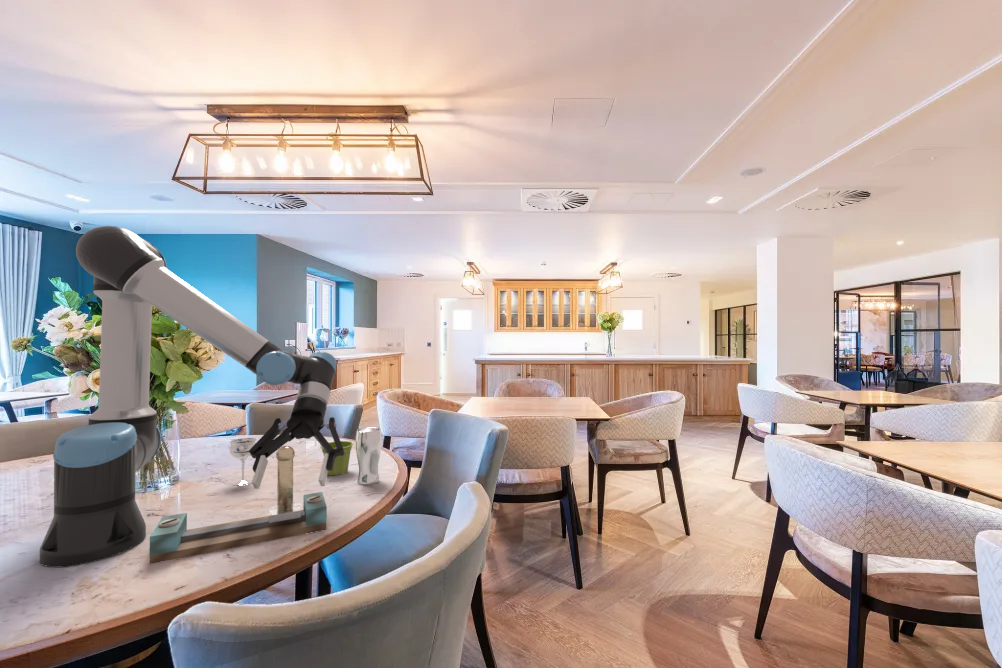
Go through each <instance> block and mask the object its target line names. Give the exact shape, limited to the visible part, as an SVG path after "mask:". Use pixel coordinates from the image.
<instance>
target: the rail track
mask: <svg viewBox="0 0 1002 668" xmlns="http://www.w3.org/2000/svg"><path fill="white" fill-rule="evenodd" d="M327 507H328V506H327V503H326V500H325V496H324V494H323V491H318V492H314V493H313V492H311V493H306V494H303V509H301V517H300V518H295V519H289V520H283V521H278V522H272V523H269V515H267V516H261V517H254V518H248V519H243V520H237V521H229V522H224V523H219V524H214V525H213V524H212V525H207V526H202V527H195V528H190V529H188V527H187V525H188V516H187V515H188V513H187V512H185V513H184V512H183V513H179V514H177V513H176V514H170V515H165V516H162V517H161V519H160V520H159V522H158V523H157V525H156V526H155V528H154V529H153V531H152V533H150V536H149V559H148V560H149V565H154V564H157V563H158V564H159V563H163V562H169V561H173V560H179V559H184V558H189V557H195V556H199V555H204V554H209V553H215V552H219V551H220V552H221V551H224V550H230V549H234V548H235V549H236V548H241V547H246V546H251V545H256V544H261V543H266V542H267V543H268V542H271V541H276V540H281V539H287V538H292V537H297V536H301V535H302V534H303V535H307V534H306V533H308V534H312V533H311V532H313V533H317V532H316V531H318V532H323V531H326V530H327V529H328V528H327V525H328V524H327V522H328V521H327ZM322 530H323V531H322Z"/></svg>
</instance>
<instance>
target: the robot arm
mask: <svg viewBox="0 0 1002 668" xmlns="http://www.w3.org/2000/svg"><path fill="white" fill-rule="evenodd" d="M75 256H76V258H77V261H78V262H79V264H80V266H81V268H83V270H85V271H86V272H87V273H88V274H90V275H91V276H93V288H92V289H93V290H92V291H93V294H94V295H95V296H97V297H98V298H99V299H100V300H101V301H102V302H101V303H102V304H101V305H102V307H101V329H100V330H101V335H100V360H99V382H98V383H99V385H98V387H99V388H98V408H97V409H96V410H95V411H93V413H92V414H90V415H89V416H88V425H84V426H82V427H81V426H80V427H75V428H73V429H69V430H67V431H65V432H64V433H62V434H60V436H59V437H58V438H57V439H56V441H55V445H54V450H53V455H52V458H53V460H54V461H53V469H54V470H53V482H54V483H53V516H52V517H53V518H52V520H51V522H50V525H49V527H48V529H47V531H46V534H45V536H44V538H43V541H42V543H41V546H40V548H39V563H40V564H41V565H42V564H43V565H42V566H44V565H47V566H46V567H50V566H63V567H69V566H79V565H82V564H89V563H92V562H96V561H100V560H104V559H107V558H110V557H113V556H116V555H119V554H121V553H124V552H125V551H127V550H128V551H129V550H130V549H132V548H134V547H136V546H137V545H138V544H141V542H143V541H144V539H145V538H146V536H147V525H146V522H145V519H144V518H143V516H142V513H141V510H140V507H139V506H138V503H137V501H136V472H137V471H139V470H140V469H141V468H144V467H145V466H146V465H148V463H150V462H151V461H152V460H153V459H154V458H155V456H156V455H157V454H158V451H159V449H160V448H161V444H162V433H161V431H160V429H159V427H158V425H157V423H158V422H157V420H158V419H157V417H158V415H157V414H158V413H157V412H158V411H157V410H155V409H154V408H153V407H151V405H150V385H151V384H150V381H151V380H150V379H151V378H150V377H151V352H152V351H151V346H152V322H153V319H152V318H153V317H152V315H153V314H152V313H153V307H154V308H156V309H158V310H159V311H160V312H162V313H163V314H165V315H166V316H167V317H170V318H171V319H172V320H174V321H175V322H177V323H178V324H180V325H181V326H183V327H185V329H188V330H189V331H190V332H192V333H194V335H196V336H198V337H200V338H201V339H202V340H204V341H206V342H207V343H208V344H210V345H211V346H212V347H214V348H216V349H218V350H219V351H221V352H223V354H225V355H227V356H228V357H230V358H231V359H233V360H234V361H236V362H237V363H239V364H240V365H242V366H243V367H245V368H246V369H247V370H249V371H250V372H252V374H254V375H256V376H257V377H258V378H259V379H260V380H261V381H262V382H263V383H265V384H267V385H270V386H278V385H283V384H285V383H291V384H295V385H299V389H298V392H297V394H296V398H295V402H294V404H293V407H292V409H291V414H290V418H289V419H288V420H281V418H278V417H277V418H275V419H274V420H273V421H274V422H273V424H272V426H271V427H270V428H269V429H268V430H266V432H265V433H264V434H263V435H262V436H261V438H259V439H258V440H257V441H256V442H255V443H256V444H255V445H254V446H253V447H252V448H251V449H250V450H249V453H250V454H251V456H250V457H252V458H253V459H254V463H253V465H252V470H253V473H254V475H253V478H252V479H251V480H252V483H251V484H252V486H253V488H254V489H255V490H259V489H260V487H261V484H262V482H263V481H262V480H263V477H264V475H265V472H266V469H267V467H268V462H269V460H268V458H269V457H270V456H271V455H273V454H274V453H275V452H277V451H278V450H279V449H280V448H281V447H283V446H285V445H286V444H287V443H288V442H291V441H293V440H294V439H296V440H300V439H306V440H310V439H311V438H314V439H315V440H316V441H317V442H318V443H319V444H320V447H321V446H322V447H323V448H324V450H325V451H326V452H327V453H325V455H324V454H323V459H322V460H323V461H322V464H321V468H320V473H319V476H318V483H319V485H320V487H325V486H326V482H327V477H328V474H327V473H328V471H329V470H332V469H333V466H334V461H335V458H336V457H337V456H339V455H340V456H343V455H344V454H345V453H344V449H343V446H342V444H341V441H342V440H341V439H340V436H339V434H338V432H337V422H336V420H335V419H336V418H335V417H330V418H328V419H326V420H324V419H325V415H326V411H327V406H328V403H329V400H330V395H331V391H332V387H333V384H334V380H335V376H336V370H337V364H338V363H337V360H336V357H334V355H333V354H331V353H329V352H326V351H321V352H320V351H315V352H312V353H311V354H310V355H309V356H305V355H300V354H296V353H293V352H291V351H286V350H283V349H281V348H280V347H278V346H277V345H276V344H274V343H273V342H271V341H270V340H269V339H267V338H266V337H265V336H263V335H261V334H260V333H258V332H257V331H256V330H254V329H252V328H251V327H250V326H249V325H247V324H246V323H244V322H243V321H241V320H240V319H238V318H237V317H235V316H234V315H233V314H231V313H230V312H229V311H227V310H226V309H224V308H223V307H222V306H220V305H219V304H218V303H216V302H214V301H213V300H212V299H210V297H207V296H205V294H203V293H202V292H200V291H199V290H198V289H196V288H195V287H193V286H191V285H190V284H189V283H188V282H186V281H184V279H182V278H180V277H179V276H177V275H176V274H175V273H173V272H172V271H171V270H169V269H168V264H167V261H166V259H165V256H164V255H163V253H162V252H161V250H159V248H157V246H156V245H154V244H153V243H151V242H150V241H148V240H146V239H143V238H142V237H141V236H139V234H136V233H134V232H133V231H132V230H129V229H126V228H124V227H119V226H113V225H106V226H105V225H104V226H98V227H93V228H92V229H90V230H87V231H86V232H85V233H83V234H82V236H81V237H80V238H79V239H78V241H77V243H76V247H75ZM286 427H287V428H286ZM324 427H325V428H326V429H327V430H329V431H330V434H331V436H332V439H333V442H335V445H336V447H337V448H336V449H334V448H332V446H331V445H330V444H329V441H328V439H326V438H325V437H324V435H323V434H322V433H321V430H322V429H323V428H324ZM281 431H282V432H281ZM280 433H281V434H280Z"/></svg>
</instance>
